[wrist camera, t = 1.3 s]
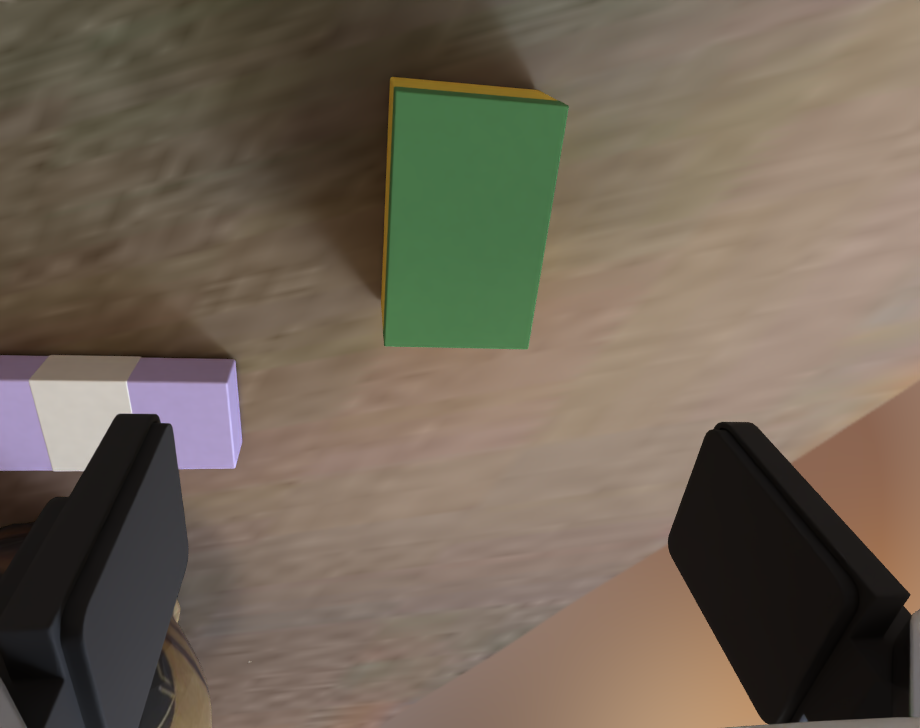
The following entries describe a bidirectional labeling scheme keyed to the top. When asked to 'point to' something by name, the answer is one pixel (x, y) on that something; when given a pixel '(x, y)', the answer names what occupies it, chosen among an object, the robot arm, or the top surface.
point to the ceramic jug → (178, 669)
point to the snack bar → (114, 407)
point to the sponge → (466, 212)
